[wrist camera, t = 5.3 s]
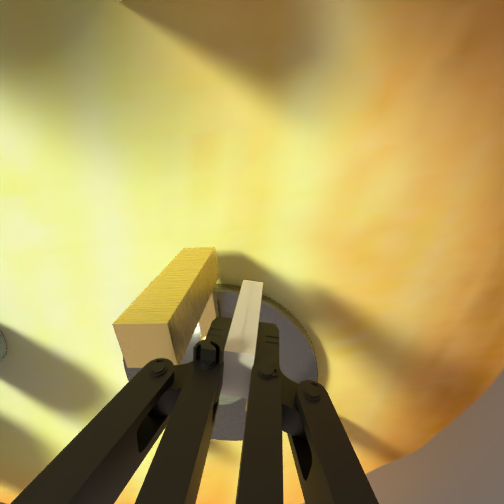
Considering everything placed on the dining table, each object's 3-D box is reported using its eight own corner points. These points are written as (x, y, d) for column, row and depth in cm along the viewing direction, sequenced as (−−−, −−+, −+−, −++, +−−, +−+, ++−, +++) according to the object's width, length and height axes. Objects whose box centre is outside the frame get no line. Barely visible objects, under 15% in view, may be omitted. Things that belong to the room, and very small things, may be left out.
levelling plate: (173, 245, 22) (161, 256, 20) (356, 345, 25) (365, 366, 22) (108, 381, 30) (93, 400, 27) (254, 448, 32) (253, 472, 30)
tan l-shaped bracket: (231, 351, 24) (205, 470, 15) (202, 351, 24) (160, 468, 15) (216, 246, 20) (169, 323, 11) (182, 248, 20) (110, 324, 11)
